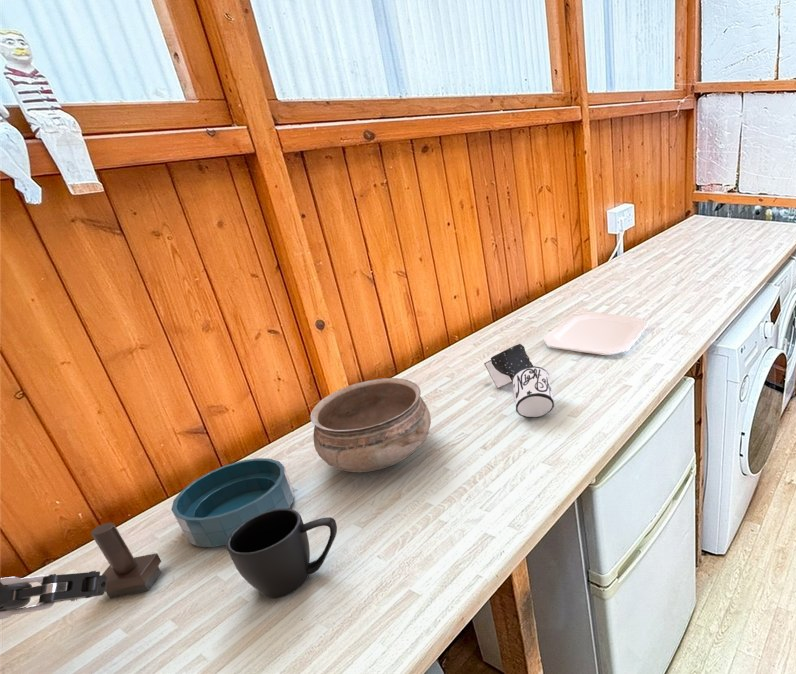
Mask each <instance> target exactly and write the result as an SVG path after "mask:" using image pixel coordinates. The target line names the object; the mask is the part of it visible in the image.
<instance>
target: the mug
mask: <svg viewBox="0 0 796 674" xmlns="http://www.w3.org/2000/svg"><path fill="white" fill-rule="evenodd" d="M319 527H327V528H329V537H328V540H327V543H326V545H325V548H324V550H323V551H322V553H321V554H320V556H318V558H317V559H315V560H314V561H311V560H310V558H311V552H310V550H311V549H310V541H309V537H308V531H310V530H312V529H316V528H319ZM337 531H338V526H337V521H336V520H335V518H333V517H331V516H329V517H326V516H325V517H321V518H317V519H314V520H311V521H308V522H305V523H304V521H303V518H302V516H301V514H300V512H299V511H297V510H295V509H293V508H289V509H288V508H281V509H274V510H270V511H266V512H264V513H261V514H258V515H256V516H254V517H252V518H250V519H248V520H247V521H245V522H244V523H242V524H241V525H240V526H238V527H237V528H236V529H235V530H234V531H233V532H232V533H231V535H230V536H229V538H228V540H227V543H226V545H225V547H226V551H227V553H228V555H229V557H230V560H231V561H232V563H233V565H234V567H235V569H236V570H237V572H238V573H239V574H240V576H241V577H242V578H243V579H244V580H245V581H246V582H247V583H248V584H249V585H250V586H251V587H253V588H254V589H255V590H257V591H258V592H259V593H261V594H262V596H263V597H265V598H268V599H280V598H283V597H286V596H289V595H291V594H293V593H294V592H296V591H297V590H298V589H300V588H301V587H302V586H303V585H304V584H305V583H306V582H307V580H308V578H309V576H310V575H312V574H315V573H316V572H317V571H318V570H319V569H320V568H321V567H322V566H323V564H324V563H325V560H326V558H327V556H328V554H329V552H330V549H331V547H332V545H333V544H334V541H335V540H336V539H335V538H336V535H337ZM310 561H311V562H310Z"/></svg>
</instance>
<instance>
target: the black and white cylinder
mask: <svg viewBox="0 0 796 674" xmlns="http://www.w3.org/2000/svg"><path fill="white" fill-rule="evenodd" d="M483 364H484V366H485V368H486V370H487V372H488V374H489V376H490V377H491V379H492V381H493V383H494V384H495V387H496V389H501V388H503V387H505V386H508V385H510V384H512V388H513V397H514V404H515V405H514V406H515V411H516V414H517V415H519V416H520V417H523V418H526V419H537V418H538V419H539V418H542V417H544V416H546V415H547V414H549V413H551V412H552V410H553V408H554V406H555V405H554V404H555V402H554V396H553V391H552V386H551V379H550V374H549V373H548V370H546V369H544V368H543V367H540V366H534V364H533V363H532V361H531V360H530V356H529V355H528V354H527V352H526V347H525V346H524V345H523V344H521V343H518V344H515V345H513V346H510V347H509V348H507V349H505V350H503V351H501V352H498V353H497V354H495V355H492V357H490V360H487V361H486V362H484V363H483Z"/></svg>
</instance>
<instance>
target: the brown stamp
mask: <svg viewBox="0 0 796 674" xmlns="http://www.w3.org/2000/svg"><path fill="white" fill-rule="evenodd" d="M90 535H91V537H92V538H93V540H94V542H95V543H96V545H97V546H98V548H99V550H100V551H101V553H102V555H104V558H105V559H106V561H107V563H108V564H109V565H108V567H106V569H105V570H104V571H103V572H102V574H101V575H105V576H106V578H108V580H107V587H106V591H105V592H104V593H106V595H107V596H108V598H109V599H114V598H118V597H124V596H128V595H134V594H138V593H143V592H148V591H150V589H152V586H153V585H154V584H155V582H156V581H157V579H158V578H159V576H160V575H161V573H162V571H161V568H160V567H159V566H160V564H161V563H162V560H161V558H160V556H159V553H156V552H155V553H151V554H146V555H140V556H135V557H134V555H133V554H132V551H131V550H130V549H129V547H128V545H127V544H126V541H125V540H124V538H123V536H122V535H121V533H120V532H119V530H118V528H117V527H116V525H115V523H114V522H105V523H102V524H100V525H98V526H96V527H95V528H93V529H92V531H90Z"/></svg>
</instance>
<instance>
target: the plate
mask: <svg viewBox="0 0 796 674" xmlns="http://www.w3.org/2000/svg"><path fill="white" fill-rule="evenodd" d="M648 327H649V323H648V322H647V321H645V320H644V319H643V318H641V317H640V316H633V315H632V316H630V315H622V314H615V313H605V312H597V311H588V310H587V311H581V312H576V313H571V314H569V316H567V317H566V318H564V320H562V321H561V322H560V323H559V324H558V325H556V326H555V327H554V328H552V329H551V330H550V331H549V332H547V334H545V335H544V336H543V337H542V340H543V342H544V343H545V345H546V346H547V347H549V348H553V349H558V350H565V351H571V352H577V353H583V354H584V353H586V354H592V355H600V356H612V355H617V354H622V353H626V352H628V351H630V349H631V348H632V347H633V346H634V345H635V343H636V342H637V341H638V339H639V338H640V337H641V336H642V335H643V333H644V332H645V331H646V329H648Z"/></svg>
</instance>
